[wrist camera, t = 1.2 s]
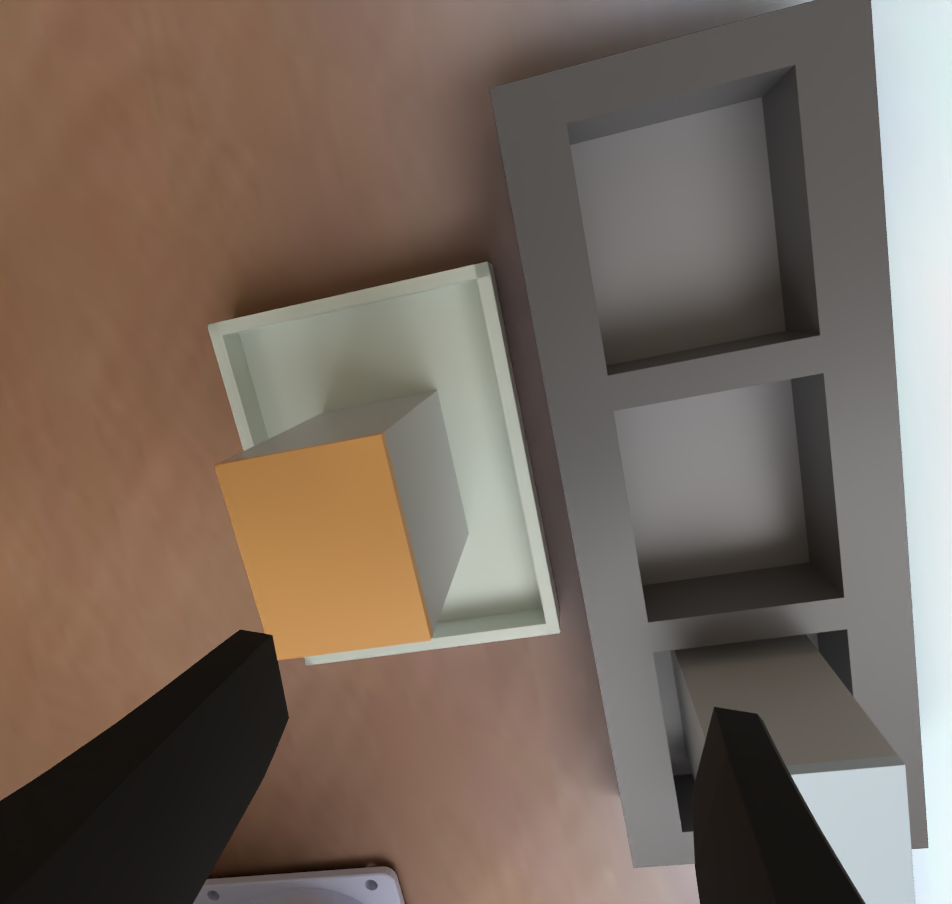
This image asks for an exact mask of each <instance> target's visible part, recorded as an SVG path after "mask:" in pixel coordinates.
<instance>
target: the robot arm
mask: <svg viewBox="0 0 952 904" xmlns="http://www.w3.org/2000/svg"><path fill="white" fill-rule="evenodd" d="M288 719H289V716H288V711H287V706H286V701H285V696H284V691H283V686H282V681H281V675H280V670H279V665H278V660H277V655H276V650H275V645H274V640H273V635H270V634H264V633H257V632H251V631H245V630H239V631H238V632H236V633H235V634H234V635H232V636H231V637H230V638H228V639H227V640H225V641H224V642H223V643H222V644H220V645H219V646H218V647H216V648H215V649H214V650H212V651H211V652H210V653H208V654H207V655H206V656H205V657H203V658H202V659H201V660H199V661H198V662H197V663H195V664H194V665H193V666H191V667H190V668H189V669H188V670H186V671H185V672H184V673H182V674H181V675H180V676H178V677H177V678H176V679H174V680H173V681H172V682H171V683H169V684H168V685H167V686H165V687H164V688H163V689H161V690H160V691H159V692H157V693H156V694H155V695H153V696H152V697H151V698H149V699H148V700H147V701H145V702H144V703H143V704H141V705H140V706H139V707H137V708H136V709H135V710H133V711H132V712H130V713H129V714H128V715H126V716H125V717H124V718H122V719H121V720H120V721H118V722H117V723H116V724H114V725H113V726H111V727H110V728H108V729H107V730H106V731H104V732H103V733H101V734H100V735H98V736H97V737H96V738H94V739H93V740H91V741H90V742H88V743H87V744H85V745H84V746H83V747H81V748H80V749H78V750H77V751H75V752H74V753H72V754H71V755H70V756H68V757H67V758H65V759H64V760H62V761H61V762H59V763H58V764H57V765H55V766H54V767H52V768H51V769H49V770H48V771H46V772H45V773H43V774H42V775H40V776H39V777H37V778H36V779H34V780H33V781H31V782H30V783H28V784H26V785H25V786H23V787H22V788H20V789H19V790H17V791H15V792H14V793H12V794H11V795H9V796H7V797H6V798H4V799H3V800H1V801H0V904H405V903H404V899H403V895H402V892H401V888H400V885H399V881H398V878H397V875H396V873H395V872H394V871H393V870H392V869H391V868H389V867H384V866H382V867H369V868H355V869H341V870H327V871H313V872H300V873H286V874H272V875H258V876H244V877H231V878H217V879H207V878H208V876H209V874H210V873H211V871H212V869H213V867H214V866H215V864H216V862H217V860H218V859H219V857H220V855H221V853H222V852H223V850H224V848H225V846H226V844H227V843H228V841H229V839H230V837H231V836H232V834H233V832H234V830H235V829H236V827H237V825H238V823H239V821H240V820H241V818H242V816H243V814H244V812H245V811H246V809H247V807H248V805H249V803H250V802H251V800H252V798H253V796H254V795H255V793H256V791H257V789H258V787H259V785H260V784H261V782H262V780H263V778H264V776H265V774H266V771H267V769H268V767H269V764H270V762H271V760H272V758H273V755H274V753H275V751H276V748H277V746H278V743H279V741H280V738H281V736H282V734H283V731H284V729H285V726H286V724H287V721H288ZM692 811H693V836H694V856H695V870H696V877H697V885H698V892H699V899H700V904H866V903H865V902H864V900H863V898H862V897H861V895H860V894H859V892H858V890H857V889H856V887H855V886H854V884H853V882H852V881H851V879H850V877H849V876H848V874H847V872H846V871H845V869H844V867H843V866H842V864H841V862H840V860H839V859H838V857H837V855H836V854H835V852H834V850H833V849H832V847H831V845H830V844H829V842H828V840H827V839H826V837H825V835H824V834H823V832H822V830H821V829H820V827H819V825H818V823H817V822H816V820H815V818H814V816H813V815H812V813H811V811H810V809H809V807H808V806H807V804H806V802H805V800H804V798H803V796H802V795H801V793H800V791H799V789H798V787H797V786H796V784H795V782H794V780H793V778H792V776H791V774H790V773H789V771H788V769H787V767H786V765H785V763H784V761H783V759H782V757H781V755H780V753H779V752H778V750H777V748H776V746H775V744H774V742H773V740H772V738H771V736H770V734H769V732H768V730H767V728H766V725H765V723H764V721H763V720H762V719H761V718H760V716H759V715H758V714H756V713H750V712H744V711H738V710H732V709H726V708H719V707H714V709H713V713H712V716H711V720H710V724H709V728H708V732H707V736H706V740H705V744H704V748H703V752H702V755H701V759H700V763H699V767H698V771H697V775H696V779H695V783H694V787H693V791H692ZM371 880H374V881H375V882H374V881H371Z"/></svg>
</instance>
